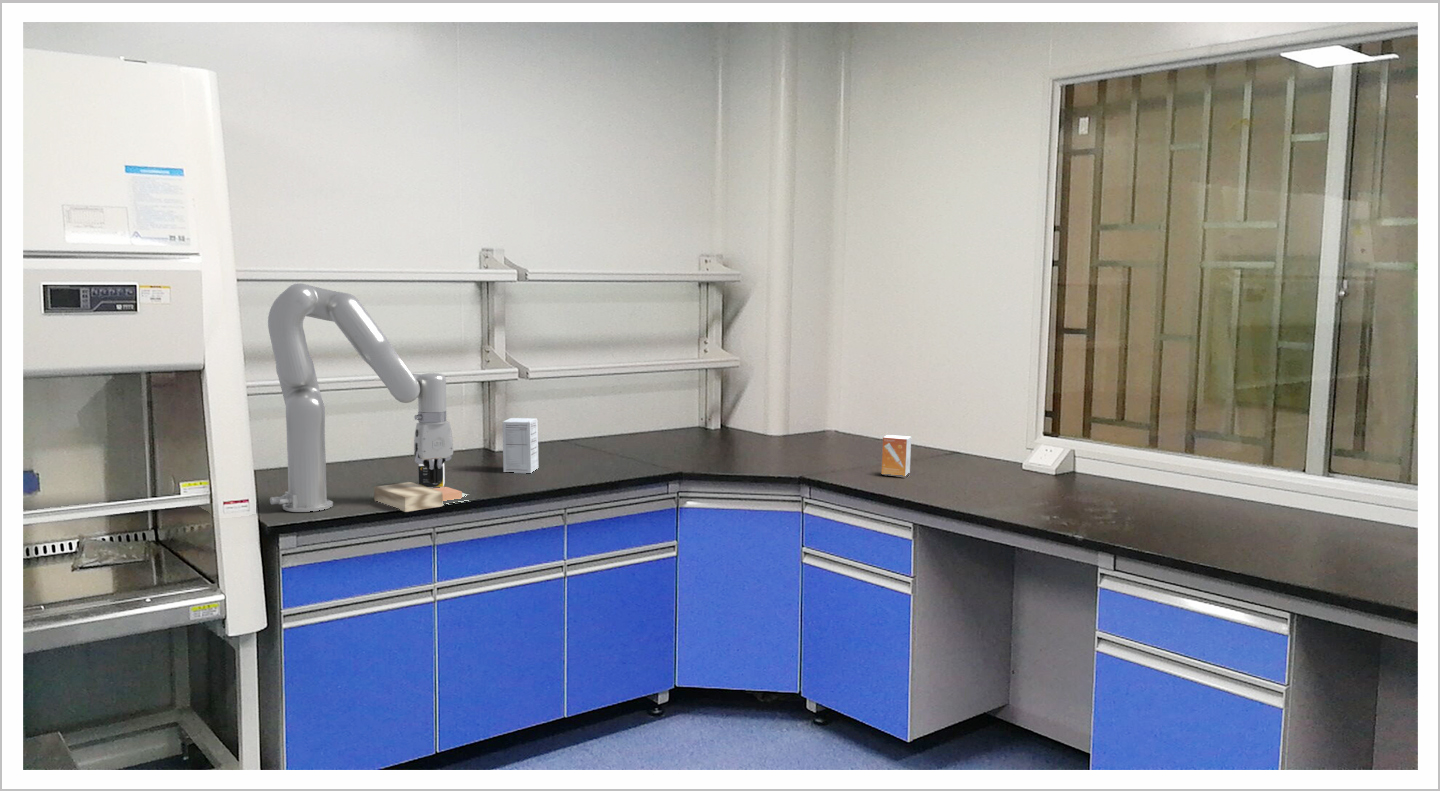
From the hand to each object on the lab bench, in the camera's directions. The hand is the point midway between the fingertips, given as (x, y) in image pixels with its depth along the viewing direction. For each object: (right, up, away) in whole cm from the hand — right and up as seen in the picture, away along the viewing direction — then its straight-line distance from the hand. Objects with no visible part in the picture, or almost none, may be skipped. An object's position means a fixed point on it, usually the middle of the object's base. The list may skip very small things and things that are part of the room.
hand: (433, 482), depth 300 cm
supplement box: (+16, 0, +46) cm, 49 cm away
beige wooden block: (-6, -6, -5) cm, 9 cm away
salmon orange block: (+2, -3, +2) cm, 4 cm away
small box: (+138, -2, +48) cm, 146 cm away
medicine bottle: (-6, -3, +20) cm, 21 cm away
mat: (+3, -5, +3) cm, 7 cm away
